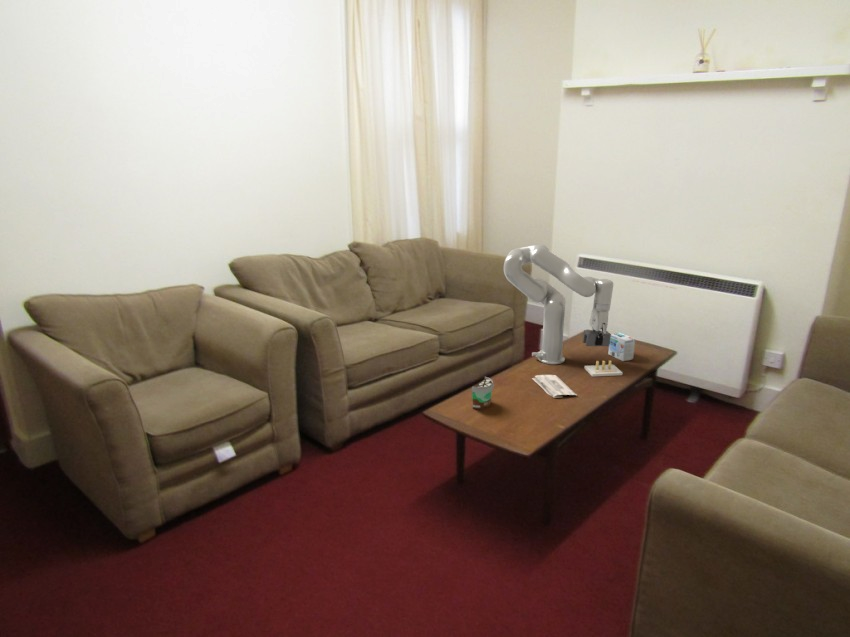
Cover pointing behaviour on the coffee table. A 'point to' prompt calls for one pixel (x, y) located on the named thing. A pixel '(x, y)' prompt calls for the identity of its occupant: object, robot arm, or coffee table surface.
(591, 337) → the block
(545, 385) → the newspaper
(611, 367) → the board
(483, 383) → the food container
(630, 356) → the light bulb box
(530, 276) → the robot arm
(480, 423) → the coffee table surface
